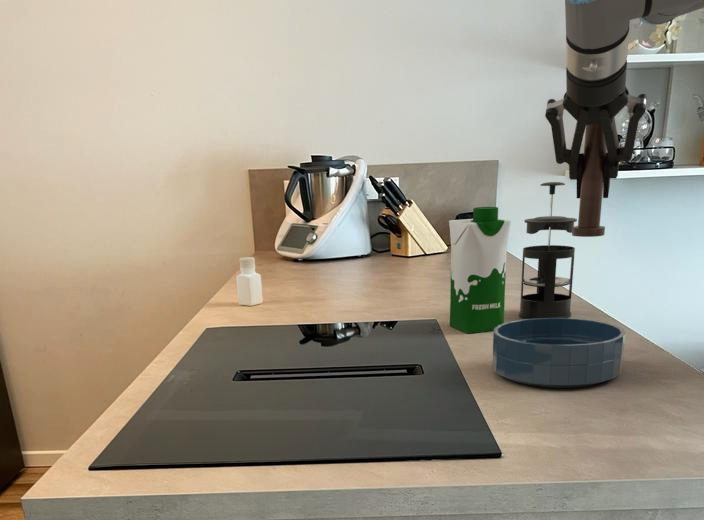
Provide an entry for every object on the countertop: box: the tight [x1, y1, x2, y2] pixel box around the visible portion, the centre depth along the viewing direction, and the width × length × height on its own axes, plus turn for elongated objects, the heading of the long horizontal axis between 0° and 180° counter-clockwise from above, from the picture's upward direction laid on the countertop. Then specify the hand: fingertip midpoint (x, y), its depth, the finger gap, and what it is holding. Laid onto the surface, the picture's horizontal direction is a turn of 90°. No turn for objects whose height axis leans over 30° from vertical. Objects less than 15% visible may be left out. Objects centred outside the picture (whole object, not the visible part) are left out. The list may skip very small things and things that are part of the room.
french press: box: [518, 181, 578, 319], centre depth 140 cm, size 12×9×23 cm
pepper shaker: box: [235, 256, 264, 307], centre depth 164 cm, size 4×4×10 cm
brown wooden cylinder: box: [571, 124, 607, 238], centre depth 118 cm, size 5×5×16 cm
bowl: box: [491, 317, 627, 389], centre depth 108 cm, size 17×17×6 cm
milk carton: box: [448, 206, 512, 334], centre depth 133 cm, size 9×9×20 cm
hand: (593, 191), depth 122 cm, fingers closed on brown wooden cylinder, 3 cm apart
